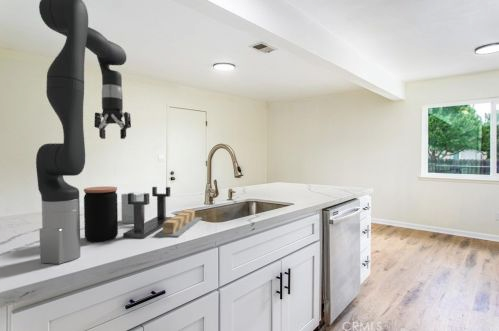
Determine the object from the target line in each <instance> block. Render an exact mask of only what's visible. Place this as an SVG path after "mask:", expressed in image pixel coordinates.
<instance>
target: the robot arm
mask: <svg viewBox="0 0 499 331" xmlns="http://www.w3.org/2000/svg"><path fill="white" fill-rule="evenodd" d="M38 10H39V15H40V18H41V19H42V22H43V23H44V24H45V25H46V26H47V27H48V28H49V29H51V30H52V31H54V32H56V33H58V34H60V35H63V36H64V37H66V38H65V42H64V45H63V47H62V48H61V49H60V52H59V53H58V54H57V56H55V59H54V60H52V62H51V64H50V66H49V67H48V69H47V72H46V92H45V93H46V97H47V100H48V102H49V104H50V106H51V108H52V109H53V111H54V112H55V114H56V115H57V118H58V120H59V121H60V123H61V126H62V131H63V132H62V133H63V143H62V142H61V143H59V142H58V143H57V142H55V143H45V144H42V145H41V146H40V147H39V148H38V150H37V151H36V152H37V153H36V155H35V156H36V158H35V165H36V167H35V169H36V178H37V179H36V180H37V187H38V188H37V189H38V191H39V193H40V197H41V226H42V227H41V228H40V229H39V257H40V258H39V259H40V264H55V265H56V264H58V265H61V264H62V263H66V262H70V261H73V260H77V259H78V258H80V257H81V253H82V252H81V250H82V249H81V221H80V220H81V215H80V214H81V212H80V206H81V205H80V190H79V188H78V187H76V186H73V185H71V184H69V183H67V182H66V181H65V179H64V177H65V176H67V177H68V176H69V177H70V176H71V177H72V176H73V177H74V176H78V175H81V173H82V172H83V170H84V168H85V165H86V146H85V143H86V142H85V134H84V133H85V131H84V100H85V97H84V96H85V57H86V56H85V55H86V49H88V51H90V52H92V54H94V55H96V58H97V62H98V65H99V68H100V71H101V72H100V73H101V76H102V77H101V83H102V85H101V108H102V112H95V113H94V121H93V122H94V127H95V129H98V130H99V131H98V132H99V138H100V139H103V140H105V139H106V128H107V126H109V125H111V124H114V125H115V124H117V125H118V126H119V127H120V139H121V140H125V139H126V138H127V129H131V127H132V120H131V113H130V112H129V111H128V112H127V111H124V112H123V109H124V108H123V104H124V102H123V99H124V97H123V89H122V88H123V87H122V86H123V85H122V82H123V81H122V74H121V72H120V71H118V70H114V69H113V70H112V69H111V68H110V66H123V65H124V64H125V63H126V62H127V54H126V52H125V50H124V48H123V47H122V46H121V45H119V44H117V43H114V42H113V41H110V40H108V39H107V38H106V37H105V36H104V35H103V34H102V33H101V32H99V31H98V30H96V29H94V28H92V27H90V26H89V14H88V13H89V11H88V8H87V6H86V4H85V2H84V1H83V0H40V1H39V4H38ZM102 118H103V119H102ZM123 119H124V120H123Z"/></svg>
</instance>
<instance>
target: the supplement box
mask: <svg viewBox="0 0 499 331" xmlns="http://www.w3.org/2000/svg"><path fill="white" fill-rule="evenodd" d="M128 193H134V201H144V194H145V193H146V192H142V191H141V192H140V191H138V192H137V191H131V192H127V193H121V199H120V200H121V223H123V224H125V223H126V224H134V205H131V204H128ZM144 221H146V205H144Z"/></svg>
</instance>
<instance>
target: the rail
mask: <svg viewBox="0 0 499 331" xmlns="http://www.w3.org/2000/svg"><path fill="white" fill-rule="evenodd" d="M171 217H172V218H170V219H169V220H167V221H165V222H163V227H162V230H163V233H164V234H174V233H175V232H176V231H178V230H179V229H181V228H182V227H183V226H185V225H186V224H188V223H189V222H190V221H192V220H193V219H195V217H196V210H195V209H185V210H183V211H181V212H179V213H178V214H176V215H174V216H171Z"/></svg>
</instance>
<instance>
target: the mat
mask: <svg viewBox="0 0 499 331" xmlns="http://www.w3.org/2000/svg"><path fill="white" fill-rule="evenodd" d="M201 220H202V217H199V216H198V217H197V216H195V219H193V220H192V221H190V222H189V223H188V224H186V225H185V226H183V227H182V228H181V229H179V230H178V231H176V232H175V233H174V234H164V233H163V229H161V230H159V231H158V232H157V233H156V232H155V234H154V237H165V238H179V237H181V236H182V235H183V234H184V233H186V232H187V231H188V230H189V229H191V228H192V227H193V226H194V225H196V224H197V223H198V222H200V221H201ZM190 227H191V228H190ZM186 230H187V231H186Z"/></svg>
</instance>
